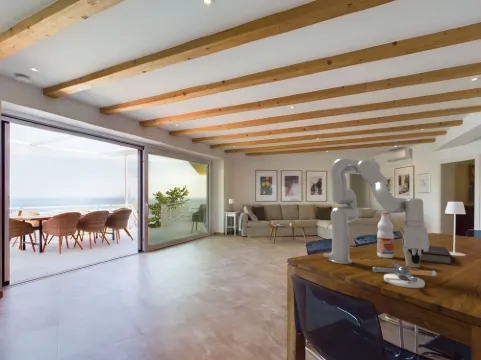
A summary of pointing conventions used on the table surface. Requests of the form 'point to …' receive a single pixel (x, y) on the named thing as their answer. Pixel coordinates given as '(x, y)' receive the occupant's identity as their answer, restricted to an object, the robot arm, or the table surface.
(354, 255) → the table surface
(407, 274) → the capstan
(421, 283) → the stand
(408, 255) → the flower pot
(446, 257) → the book
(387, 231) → the fruit juice
